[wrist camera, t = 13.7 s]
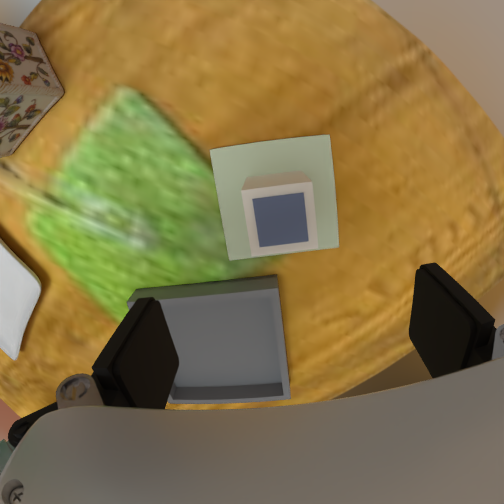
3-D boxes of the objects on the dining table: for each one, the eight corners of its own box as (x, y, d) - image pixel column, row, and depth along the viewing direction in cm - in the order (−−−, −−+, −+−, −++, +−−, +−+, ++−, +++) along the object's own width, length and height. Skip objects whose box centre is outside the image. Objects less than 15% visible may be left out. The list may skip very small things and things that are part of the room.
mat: (337, 244, 31) (339, 247, 30) (230, 257, 32) (229, 260, 31) (327, 134, 27) (329, 134, 26) (211, 149, 28) (209, 149, 27)
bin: (289, 382, 38) (290, 398, 35) (173, 388, 39) (168, 403, 37) (276, 274, 32) (278, 288, 29) (136, 289, 34) (126, 302, 31)
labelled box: (306, 222, 29) (318, 249, 23) (254, 228, 30) (251, 257, 23) (300, 170, 27) (312, 181, 21) (246, 177, 28) (240, 191, 21)
